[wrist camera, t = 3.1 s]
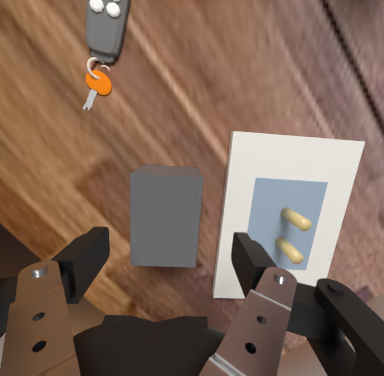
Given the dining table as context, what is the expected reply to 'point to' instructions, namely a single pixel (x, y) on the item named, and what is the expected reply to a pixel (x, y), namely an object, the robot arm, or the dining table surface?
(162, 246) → the block
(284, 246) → the board
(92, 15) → the key chain
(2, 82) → the dining table surface
